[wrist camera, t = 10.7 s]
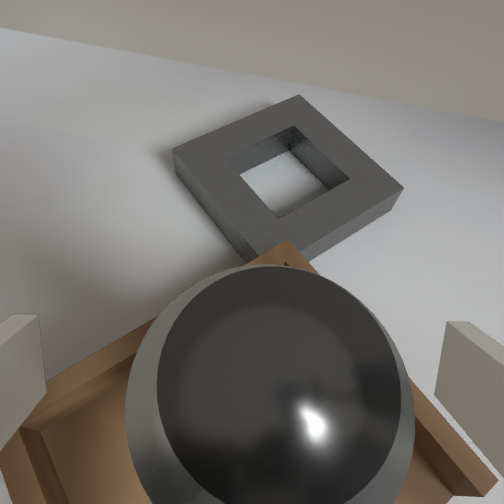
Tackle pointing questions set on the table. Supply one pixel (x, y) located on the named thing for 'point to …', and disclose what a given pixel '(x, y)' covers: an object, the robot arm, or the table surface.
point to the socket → (310, 154)
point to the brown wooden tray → (117, 450)
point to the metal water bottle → (269, 395)
